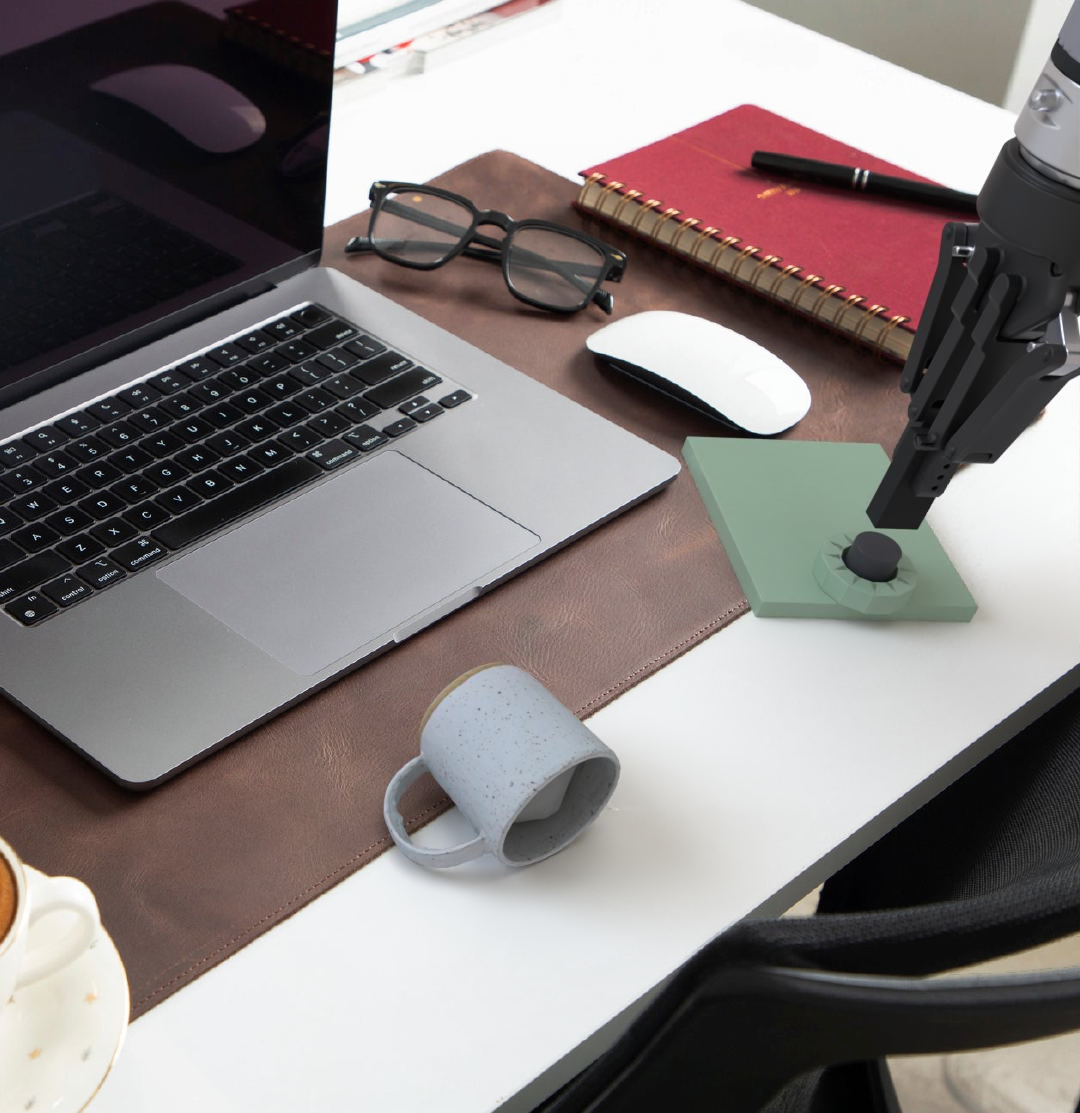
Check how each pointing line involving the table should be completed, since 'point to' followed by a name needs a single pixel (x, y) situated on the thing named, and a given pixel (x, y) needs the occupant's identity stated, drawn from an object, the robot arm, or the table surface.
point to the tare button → (873, 556)
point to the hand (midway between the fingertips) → (891, 520)
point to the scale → (817, 532)
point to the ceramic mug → (506, 769)
